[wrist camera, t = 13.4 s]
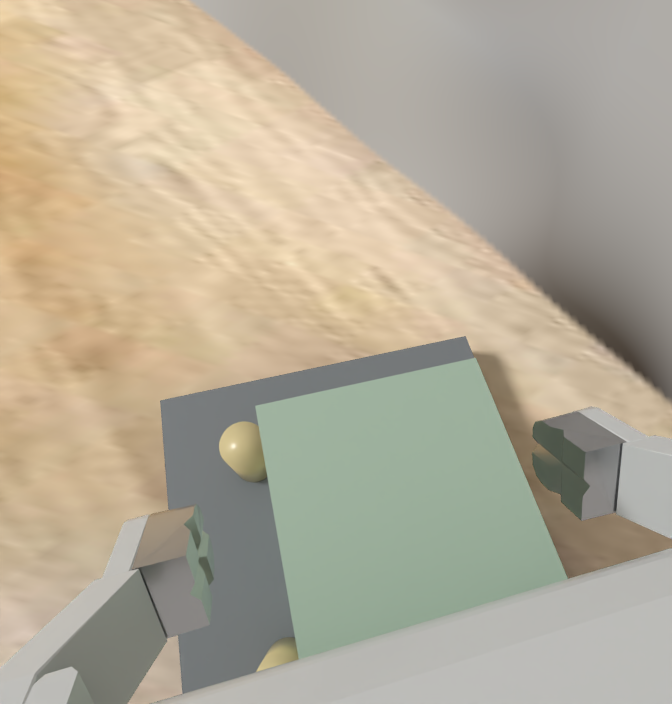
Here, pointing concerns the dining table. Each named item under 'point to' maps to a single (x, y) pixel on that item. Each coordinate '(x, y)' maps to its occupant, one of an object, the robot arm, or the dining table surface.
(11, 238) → the dining table surface
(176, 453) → the plate
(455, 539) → the green block
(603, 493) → the robot arm
